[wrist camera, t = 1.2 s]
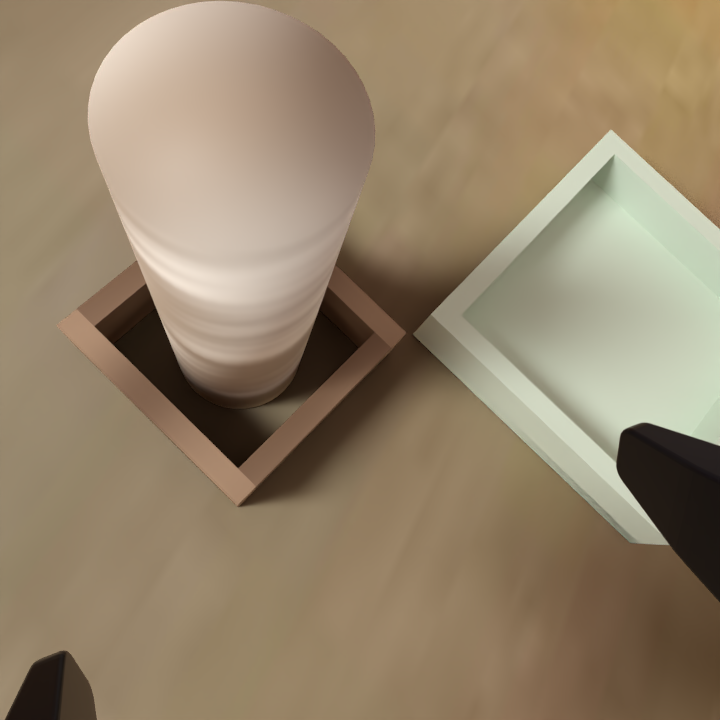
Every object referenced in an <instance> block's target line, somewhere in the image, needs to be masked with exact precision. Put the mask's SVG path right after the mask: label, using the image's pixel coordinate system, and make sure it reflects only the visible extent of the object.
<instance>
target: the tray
mask: <svg viewBox="0 0 720 720" xmlns="http://www.w3.org/2000/svg"><path fill="white" fill-rule="evenodd" d="M413 335H414V336H415V337H416V338H417V339H418V340H419V341H420V342H421V343H422V344H423V345H424V346H425V347H426V348H427V349H428V350H429V351H430V352H431V353H433V354H434V355H435V356H436V357H437V358H438V359H439V360H440V361H441V362H442V363H443V364H444V365H445V366H446V367H447V368H448V369H449V370H450V371H451V372H452V373H453V374H454V375H455V376H456V377H458V378H459V379H460V380H461V381H462V382H463V383H464V384H465V385H466V386H467V387H468V388H469V389H470V390H471V391H472V392H473V393H474V394H475V395H476V396H477V397H478V398H479V399H480V400H482V401H483V402H484V403H485V404H486V405H487V406H488V407H489V408H490V409H491V410H492V411H493V412H494V413H495V414H496V415H497V416H498V417H499V418H500V419H501V420H502V421H503V422H504V423H506V424H507V425H508V426H509V427H510V428H511V429H512V430H513V431H514V432H515V433H516V434H517V435H518V436H519V437H520V438H521V439H522V440H523V441H524V442H525V443H526V444H527V445H528V446H530V447H531V448H532V449H533V450H534V451H535V452H536V453H537V454H538V455H539V456H540V457H541V458H542V459H543V460H544V461H545V462H546V463H547V464H548V465H549V466H550V467H551V468H552V469H553V470H555V471H556V472H557V473H558V474H559V475H560V476H561V477H562V478H563V479H564V480H565V481H566V482H567V483H568V484H569V485H570V486H571V487H572V488H573V489H574V490H575V491H576V492H577V493H579V494H580V495H581V496H582V497H583V498H584V499H585V500H586V501H587V502H588V503H589V504H590V505H591V506H592V507H593V508H594V509H595V510H596V511H597V512H598V513H599V514H600V515H601V516H603V517H604V518H605V519H606V520H607V521H608V522H609V523H610V524H611V525H612V526H613V527H614V528H615V529H616V530H617V531H618V532H619V533H620V534H621V535H622V536H623V537H624V538H625V539H627V540H628V541H629V542H630V543H638V544H658V545H669V544H668V542H667V541H666V540H665V538H664V537H663V536H662V534H661V533H660V532H659V530H658V529H657V528H656V526H655V525H654V523H653V522H652V521H651V519H650V518H649V517H648V515H647V514H646V513H645V511H644V510H643V509H642V507H641V506H640V504H639V503H638V502H637V500H636V499H635V498H634V496H633V495H632V494H631V492H630V491H629V490H628V488H627V487H626V486H625V484H624V483H623V481H622V480H621V478H620V477H619V475H618V472H617V469H616V460H617V453H618V446H619V440H620V435H621V432H622V431H623V430H624V429H626V428H628V427H631V426H633V425H636V424H638V423H642V422H646V423H651V424H654V425H657V426H660V427H663V428H666V429H670V430H673V431H676V432H679V433H682V434H685V435H688V436H691V437H695V438H698V439H701V440H704V441H707V442H710V443H713V444H716V445H719V446H720V229H719V228H717V227H716V226H715V225H714V224H713V223H712V222H711V221H710V220H709V219H708V218H707V217H705V216H704V215H703V214H702V213H701V212H700V211H699V210H698V209H697V208H696V207H695V206H694V205H692V204H691V203H690V202H689V201H688V200H687V199H686V198H685V197H684V196H683V195H682V194H680V193H679V192H678V191H677V190H676V189H675V188H674V187H673V186H672V185H671V184H670V183H669V182H667V181H666V180H665V179H664V178H663V177H662V176H661V175H660V174H659V173H658V172H657V171H655V170H654V169H653V168H652V167H651V166H650V165H649V164H648V163H647V162H646V161H645V160H644V159H642V158H641V157H640V156H639V155H638V154H637V153H636V152H635V151H634V150H633V149H632V148H630V147H629V146H628V145H627V144H626V143H625V142H624V141H623V140H622V139H621V138H620V137H619V136H617V135H616V134H615V133H614V132H613V131H612V130H610V131H609V132H608V133H607V134H606V135H605V136H604V137H603V138H602V139H601V140H600V141H599V142H598V143H597V144H596V145H595V147H594V148H593V149H592V150H591V151H590V152H589V153H588V154H587V155H586V156H585V157H584V158H583V159H582V160H581V161H580V162H579V163H578V164H577V165H576V166H575V167H574V168H573V169H572V170H571V171H570V172H569V173H568V174H567V175H566V176H565V177H564V178H563V179H562V180H561V181H560V182H559V183H558V184H557V185H556V186H555V188H554V189H553V190H552V191H551V192H550V193H549V194H548V195H547V196H546V197H545V198H544V199H543V200H542V201H541V202H540V203H539V204H538V205H537V206H536V207H535V208H534V209H533V210H532V211H531V212H530V213H529V214H528V215H527V216H526V217H525V218H524V219H523V220H522V221H521V222H520V223H519V224H518V225H517V226H516V227H515V228H514V230H513V231H512V232H511V233H510V234H509V235H508V236H507V237H506V238H505V239H504V240H503V241H502V242H501V243H500V244H499V245H498V246H497V247H496V248H495V249H494V250H493V251H492V252H491V253H490V254H489V255H488V256H487V257H486V258H485V259H484V260H483V261H482V262H481V263H480V264H479V265H478V266H477V267H476V268H475V269H474V270H473V272H472V273H471V274H470V275H469V276H468V277H467V278H466V279H465V280H464V281H463V282H462V283H461V284H460V285H459V286H458V287H457V288H456V289H455V290H454V291H453V292H452V293H451V294H450V295H449V296H448V297H447V298H446V299H445V300H444V301H443V302H442V303H441V304H440V305H439V306H438V307H437V308H436V309H435V310H434V311H433V313H432V314H431V315H430V316H429V317H428V318H427V319H426V320H425V321H424V322H423V323H422V325H421V326H420V327H419V328H418V329H417V330H416V331H415V332H414V333H413Z"/></svg>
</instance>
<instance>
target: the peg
mask: <svg viewBox="0 0 720 720" xmlns="http://www.w3.org/2000/svg"><path fill="white" fill-rule="evenodd" d="M88 127H89V133H90V140H91V143H92V147H93V150H94V153H95V156H96V159H97V161H98V164H99V166H100V169H101V171H102V174H103V176H104V179H105V181H106V184H107V186H108V189H109V191H110V194H111V196H112V199H113V201H114V204H115V206H116V209H117V211H118V214H119V216H120V219H121V221H122V224H123V226H124V229H125V231H126V234H127V236H128V239H129V241H130V244H131V246H132V249H133V251H134V254H135V256H136V259H137V261H138V264H139V266H140V269H141V271H142V274H143V276H144V279H145V281H146V284H147V286H148V289H149V291H150V294H151V296H152V299H153V301H154V304H155V306H156V309H157V311H158V314H159V316H160V319H161V321H162V324H163V326H164V329H165V331H166V334H167V336H168V339H169V341H170V344H171V346H172V349H173V351H174V354H175V356H176V359H177V361H178V364H179V366H180V369H181V371H182V373H183V375H184V377H185V379H186V381H187V382H188V384H189V385H190V386H191V387H192V388H193V390H194V391H195V392H196V393H198V394H199V395H200V396H201V397H203V398H204V399H206V400H207V401H209V402H211V403H213V404H216V405H219V406H222V407H226V408H231V409H247V408H253V407H257V406H260V405H263V404H265V403H267V402H269V401H271V400H273V399H274V398H276V397H277V396H279V395H280V394H281V393H282V392H283V391H284V390H285V389H286V388H287V387H288V386H289V384H290V383H291V381H292V380H293V378H294V376H295V374H296V372H297V369H298V367H299V364H300V361H301V358H302V355H303V353H304V350H305V347H306V344H307V341H308V339H309V336H310V333H311V330H312V328H313V325H314V322H315V319H316V316H317V314H318V311H319V308H320V305H321V302H322V300H323V297H324V294H325V291H326V288H327V286H328V283H329V280H330V277H331V274H332V272H333V269H334V266H335V263H336V260H337V258H338V255H339V252H340V249H341V247H342V244H343V241H344V238H345V235H346V233H347V230H348V227H349V224H350V221H351V219H352V216H353V213H354V210H355V207H356V205H357V202H358V199H359V196H360V193H361V191H362V188H363V185H364V182H365V179H366V177H367V174H368V171H369V168H370V165H371V162H372V158H373V152H374V147H375V124H374V115H373V111H372V107H371V103H370V99H369V97H368V94H367V92H366V90H365V87H364V85H363V83H362V81H361V79H360V78H359V76H358V74H357V72H356V71H355V69H354V68H353V66H352V65H351V64H350V62H349V61H348V60H347V58H346V57H345V56H344V55H343V54H342V53H341V52H340V51H339V50H338V49H337V48H336V47H335V45H334V44H332V43H331V42H330V41H329V40H328V39H326V38H325V37H324V36H323V35H322V34H320V33H319V32H317V31H316V30H314V29H313V28H311V27H310V26H308V25H307V24H305V23H303V22H301V21H299V20H297V19H295V18H293V17H291V16H289V15H287V14H284V13H282V12H279V11H276V10H274V9H270V8H266V7H263V6H259V5H255V4H249V3H243V2H232V1H209V2H199V3H193V4H187V5H183V6H179V7H176V8H172V9H169V10H167V11H164V12H162V13H159V14H157V15H155V16H153V17H151V18H149V19H147V20H146V21H144V22H142V23H140V24H139V25H137V26H136V27H135V28H133V29H132V30H131V31H129V32H128V33H127V34H125V35H124V36H123V37H122V38H121V39H120V40H119V41H118V43H117V44H116V45H115V46H114V47H113V48H112V49H111V51H110V52H109V53H108V55H107V56H106V57H105V59H104V60H103V62H102V64H101V66H100V68H99V70H98V72H97V74H96V76H95V79H94V82H93V85H92V88H91V92H90V98H89V104H88Z"/></svg>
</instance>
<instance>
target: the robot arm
mask: <svg viewBox="0 0 720 720" xmlns="http://www.w3.org/2000/svg"><path fill="white" fill-rule="evenodd" d="M616 469H617V472H618V475H619V477H620V478H621V480H622V481H623V483H624V484H625V486H626V487H627V488H628V490H629V491H630V492H631V494H632V495H633V496H634V498H635V499H636V500H637V502H638V503H639V504H640V506H641V507H642V509H643V510H644V511H645V513H646V514H647V515H648V517H649V518H650V519H651V521H652V522H653V523H654V525H655V526H656V528H657V529H658V530H659V532H660V533H661V534H662V536H663V537H664V538H665V540H666V541H667V542H668V544H669V545H670V546H671V547H672V549H673V550H674V551H675V552H676V554H677V555H678V556H679V557H680V558H681V559H682V561H683V562H684V563H685V564H686V565H687V566H688V567H689V568H690V570H691V571H692V572H693V573H694V574H695V575H696V576H697V577H698V578H699V580H700V581H701V582H702V583H703V584H704V585H705V586H706V587H707V588H708V590H709V591H710V592H711V593H712V594H713V595H714V596H715V597H716V599H717V600H718V601H719V602H720V446H719V445H716V444H713V443H710V442H707V441H704V440H701V439H698V438H695V437H691V436H688V435H685V434H682V433H679V432H676V431H673V430H670V429H666V428H663V427H660V426H657V425H654V424H651V423H646V422H642V423H638V424H636V425H633V426H631V427H628V428H626V429H624V430H623V431H622V432H621V435H620V440H619V446H618V453H617V460H616ZM5 720H97V718H96V711H95V704H94V697H93V693H92V689H91V686H90V684H89V682H88V680H87V679H86V677H85V675H84V674H83V672H82V671H81V669H80V668H79V666H78V665H77V663H76V662H75V660H74V658H73V657H72V655H71V654H70V653H69V652H67V651H59V652H57V653H54V654H52V655H49V656H47V657H44V658H42V659H39V660H38V661H36V662H35V663H34V664H33V665H32V666H31V668H30V669H29V671H28V674H27V676H26V678H25V680H24V682H23V684H22V686H21V688H20V690H19V692H18V694H17V696H16V698H15V700H14V702H13V704H12V706H11V708H10V710H9V712H8V714H7V716H6V718H5Z"/></svg>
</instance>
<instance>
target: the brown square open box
mask: <svg viewBox="0 0 720 720" xmlns="http://www.w3.org/2000/svg"><path fill="white" fill-rule="evenodd" d="M155 308H156V306H155V304H154V301H153V299H152V296H151V294H150V291H149V289H148V286H147V284H146V281H145V279H144V276H143V274H142V271H141V269H140V266H139V264H138V261H135V262H134V263H133V264H132V265H131V266H129V267H128V268H127V269H126V270H124V271H123V272H122V273H121V274H119V275H118V276H117V277H116V278H114V279H113V280H112V281H111V282H109V283H108V284H107V285H106V286H104V287H103V288H102V289H101V290H100V291H98V292H97V293H96V294H95V295H93V296H92V297H91V298H90V299H88V300H87V301H86V302H85V303H83V304H82V305H81V306H80V307H78V308H77V309H76V310H75V311H73V312H72V313H71V314H70V315H69V316H67V317H66V318H65V319H64V320H62V321H61V322H60V323H59V324H57V325H56V326H57V327H58V328H59V329H60V330H61V331H62V332H63V333H64V334H65V335H66V336H67V337H68V338H69V340H70V341H71V342H72V343H73V344H74V345H75V346H76V347H77V348H78V349H79V350H80V351H81V352H82V353H83V354H84V355H85V356H86V357H87V358H88V359H89V360H90V361H91V362H92V363H93V364H94V365H95V366H96V367H97V368H98V369H99V370H100V371H101V372H102V373H103V374H104V375H105V376H106V377H107V378H108V379H109V380H110V381H111V382H112V383H113V384H114V385H115V386H116V387H117V388H118V389H119V390H120V391H121V392H122V393H123V394H124V395H125V396H126V397H127V398H128V399H129V400H130V401H131V402H132V403H133V404H134V405H135V406H136V407H137V408H138V409H139V410H140V411H141V412H142V413H143V414H144V415H145V416H146V417H148V418H149V419H150V420H151V421H152V422H153V423H154V424H155V425H156V426H157V427H158V428H159V429H160V430H161V431H162V432H163V433H164V434H165V435H166V436H167V437H168V438H169V439H170V440H171V441H172V442H173V443H174V444H175V445H176V446H177V447H178V448H179V449H180V450H181V451H182V452H183V453H184V454H185V455H186V456H187V457H188V458H189V459H190V460H191V461H192V462H193V463H194V464H195V465H196V466H197V467H198V468H199V469H200V470H201V471H202V472H203V473H204V474H205V475H206V476H207V477H208V478H209V479H210V480H211V481H212V482H213V483H214V484H215V485H216V486H217V487H218V488H219V489H220V490H221V491H222V492H223V493H224V494H225V495H226V496H227V497H228V498H229V499H230V500H231V501H232V502H233V503H234V504H235V505H236V506H237V507H239V506H240V505H241V504H242V503H243V502H244V501H245V500H246V499H247V498H248V497H249V496H250V495H251V494H252V493H253V491H254V490H255V489H256V488H257V487H258V486H259V485H260V484H261V483H262V482H263V481H264V480H265V479H266V478H267V477H268V476H269V475H270V474H271V473H272V472H273V471H274V470H275V469H276V468H277V467H278V466H279V465H280V464H281V463H282V462H283V461H284V460H285V459H286V458H287V457H288V456H289V455H290V454H291V453H292V452H293V451H294V450H295V449H296V448H297V447H298V446H299V444H300V443H301V442H302V441H303V440H304V439H305V438H306V437H307V436H308V435H309V434H310V433H311V432H312V431H313V430H314V429H315V428H316V427H317V426H318V425H319V424H320V423H321V422H322V421H323V420H324V419H325V418H326V417H327V416H328V415H329V414H330V413H331V412H332V411H333V410H334V409H335V408H336V407H337V406H338V405H339V404H340V403H341V402H342V401H343V400H344V399H345V397H346V396H347V395H348V394H349V393H350V392H351V391H352V390H353V389H354V388H355V387H356V386H357V385H358V384H359V383H360V382H361V381H362V380H363V379H364V378H365V377H366V376H367V375H368V374H369V373H370V372H371V371H372V370H373V369H374V368H375V367H376V366H377V365H378V364H379V363H380V362H381V361H382V360H383V359H384V358H385V357H386V356H387V355H388V354H389V353H390V352H391V350H392V349H393V348H394V347H395V346H396V345H397V343H398V342H399V341H400V340H401V339H402V338H403V336H404V335H405V334H406V332H405V331H404V330H403V329H402V328H401V327H400V326H399V325H398V324H397V323H396V322H395V321H394V320H393V319H392V318H391V317H390V316H389V315H388V314H386V313H385V312H384V311H383V310H382V309H381V308H380V307H379V306H378V305H377V304H376V303H375V302H374V301H373V300H372V299H371V298H370V297H369V296H368V295H367V294H366V293H365V292H364V291H363V290H361V289H360V288H359V287H358V286H357V285H356V284H355V283H354V282H353V281H352V280H351V279H350V278H349V277H348V276H347V275H346V274H345V273H344V272H343V271H342V270H341V269H340V268H339V267H337V266H336V265H335V266H334V269H333V272H332V274H331V277H330V280H329V283H328V286H327V288H326V291H325V294H324V297H323V300H322V302H321V305H320V308H319V310H320V311H321V312H322V313H323V314H324V315H325V316H326V317H327V318H328V319H329V320H330V321H331V322H332V323H333V324H335V325H336V326H337V327H338V328H339V329H340V330H341V331H342V332H343V333H344V334H345V335H346V336H347V337H348V338H349V339H350V340H351V341H352V342H353V343H354V344H355V345H356V346H357V347H358V348H359V349H358V350H357V351H356V352H355V353H354V354H353V355H352V356H351V357H350V358H349V359H348V360H347V361H346V362H345V363H344V364H343V365H342V366H341V367H340V368H339V369H338V370H337V371H336V372H335V373H334V374H333V375H332V376H331V377H330V378H329V379H328V380H327V381H326V382H325V383H324V384H323V385H321V386H320V387H319V388H318V389H317V390H316V391H315V392H314V393H313V394H312V395H311V396H310V397H309V398H308V399H307V400H306V401H305V402H304V403H303V404H302V405H301V406H300V407H299V408H298V409H297V410H296V411H295V412H294V413H293V414H292V415H291V416H290V417H289V418H288V419H287V420H286V421H285V422H284V423H283V424H282V425H281V426H280V427H279V428H278V429H277V430H276V431H275V432H274V433H273V434H272V435H271V436H270V437H269V438H268V439H267V440H266V441H265V442H264V443H263V444H262V445H261V446H260V447H259V448H258V449H257V450H256V451H255V452H254V453H253V454H252V455H251V456H250V457H249V458H248V459H247V460H246V461H245V462H244V463H243V464H242V465H241V466H240V467H239V468H237V467H236V466H235V465H234V464H233V463H232V462H231V461H230V460H229V459H228V458H227V457H226V456H225V455H224V454H223V453H222V452H221V451H220V450H219V449H218V448H217V447H216V446H215V445H214V444H213V443H212V442H211V441H210V440H209V439H208V438H207V437H206V436H205V435H203V434H202V433H201V432H200V431H199V430H198V429H197V428H196V427H195V426H194V425H193V424H192V423H191V422H190V421H189V420H188V419H187V418H186V417H185V416H184V415H183V414H182V413H181V412H180V411H179V410H178V409H177V408H176V407H175V406H174V405H173V404H172V403H171V402H170V401H169V400H168V399H167V398H166V397H165V396H164V395H163V394H162V393H161V392H160V391H159V390H158V389H157V388H156V387H155V386H154V385H153V384H152V383H151V382H150V381H149V380H148V379H147V378H146V377H145V376H144V375H143V374H142V373H141V372H140V371H139V370H138V369H137V368H136V367H135V366H134V365H133V364H132V363H131V362H130V361H129V360H128V359H127V358H126V357H125V356H124V355H123V354H122V353H121V352H120V351H119V350H118V349H117V348H116V347H115V346H114V345H113V344H114V343H115V342H116V341H117V340H119V339H120V338H121V337H122V336H123V335H124V334H126V333H127V332H128V331H129V330H130V329H132V328H133V327H134V326H135V325H136V324H137V323H139V322H140V321H141V320H142V319H143V318H145V317H146V316H147V315H148V314H149V313H150V312H152V311H153V310H154V309H155Z"/></svg>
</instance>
